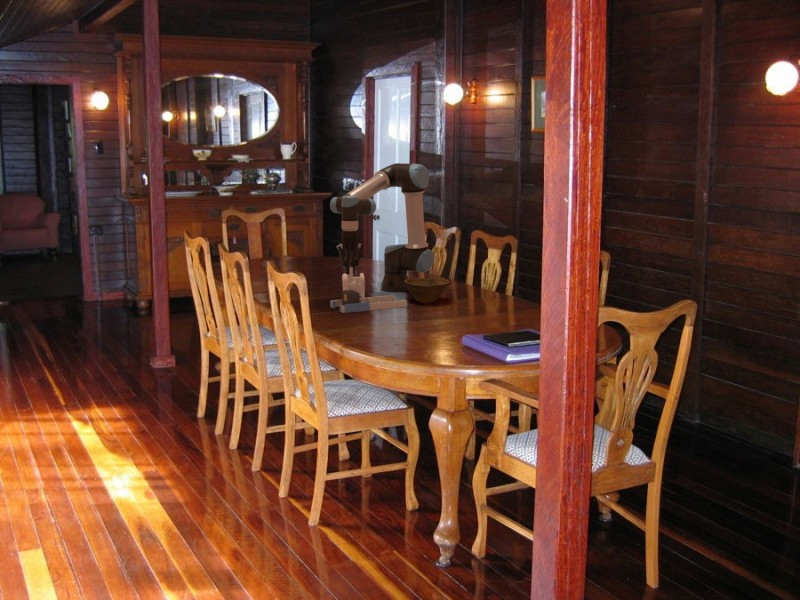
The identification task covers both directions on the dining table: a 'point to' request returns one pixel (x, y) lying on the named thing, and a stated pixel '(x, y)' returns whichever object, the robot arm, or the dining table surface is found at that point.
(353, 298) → the dark brown block
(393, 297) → the slotted rail
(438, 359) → the dining table surface
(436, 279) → the bowl
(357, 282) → the cable organizer
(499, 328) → the dining table surface
